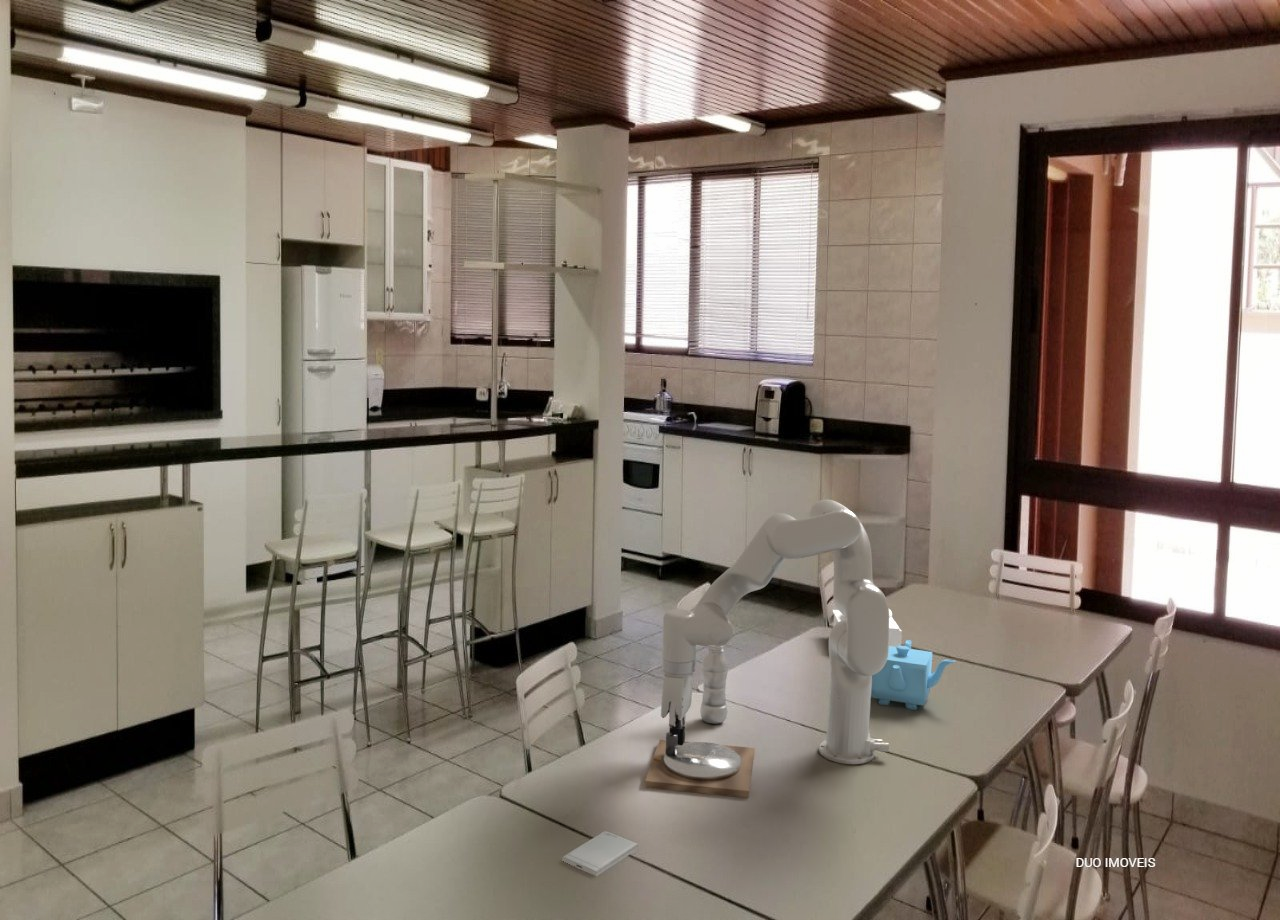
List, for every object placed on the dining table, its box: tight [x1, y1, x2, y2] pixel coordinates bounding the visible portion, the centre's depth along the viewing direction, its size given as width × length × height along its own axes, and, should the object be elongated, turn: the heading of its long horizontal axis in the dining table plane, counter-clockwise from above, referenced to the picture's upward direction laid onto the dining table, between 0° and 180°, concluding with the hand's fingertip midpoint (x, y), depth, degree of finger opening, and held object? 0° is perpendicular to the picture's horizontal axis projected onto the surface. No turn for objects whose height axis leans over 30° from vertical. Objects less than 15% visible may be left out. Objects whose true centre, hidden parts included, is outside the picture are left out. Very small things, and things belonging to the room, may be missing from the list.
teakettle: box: [871, 639, 957, 711], centre depth 275 cm, size 19×19×15 cm
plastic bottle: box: [699, 645, 729, 725], centre depth 257 cm, size 6×7×20 cm
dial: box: [664, 732, 741, 780], centre depth 231 cm, size 17×17×6 cm
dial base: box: [644, 739, 755, 799], centre depth 231 cm, size 22×22×2 cm
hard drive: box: [561, 830, 639, 877], centre depth 195 cm, size 2×8×12 cm
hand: (676, 743), depth 236 cm, fingers closed
